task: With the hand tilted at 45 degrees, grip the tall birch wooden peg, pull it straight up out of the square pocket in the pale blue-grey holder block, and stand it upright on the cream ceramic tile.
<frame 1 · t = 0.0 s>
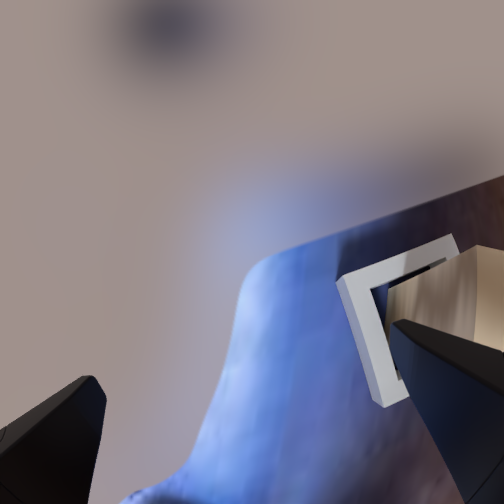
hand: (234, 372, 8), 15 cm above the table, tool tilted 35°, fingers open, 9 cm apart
holder: (409, 319, 21), on the table
peg: (447, 313, 15), in the holder
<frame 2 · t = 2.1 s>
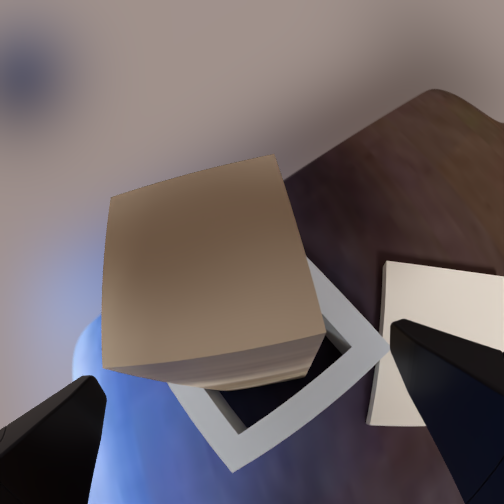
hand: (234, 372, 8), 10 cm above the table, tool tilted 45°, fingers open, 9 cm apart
tile: (448, 347, 15), on the table
holder: (259, 348, 17), on the table
peg: (241, 323, 12), in the holder
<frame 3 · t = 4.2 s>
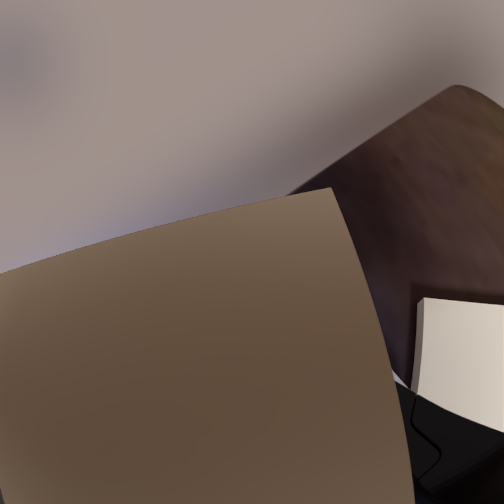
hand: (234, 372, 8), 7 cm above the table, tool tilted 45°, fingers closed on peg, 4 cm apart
tile: (484, 395, 11), on the table
peg: (245, 419, 7), in the holder, touching gripper
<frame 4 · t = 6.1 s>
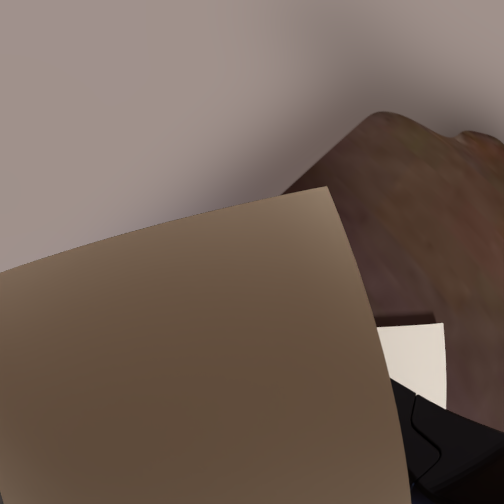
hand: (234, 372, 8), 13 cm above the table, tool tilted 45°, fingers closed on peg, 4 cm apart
tile: (380, 396, 18), on the table
peg: (243, 419, 7), point 13 cm above the table, touching gripper
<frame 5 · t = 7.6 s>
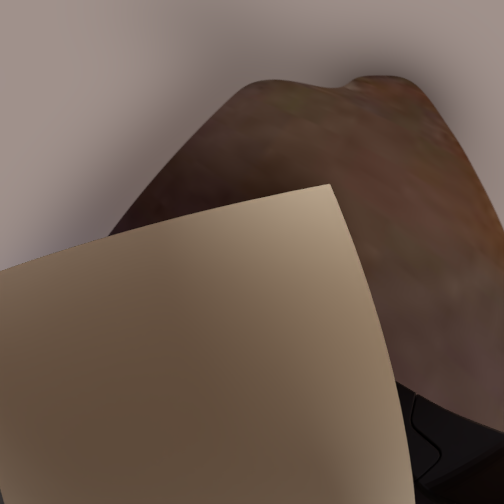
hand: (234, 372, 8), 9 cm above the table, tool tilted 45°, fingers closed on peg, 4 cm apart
peg: (244, 418, 7), point 9 cm above the table, touching gripper
when the fingers open (8 cm above the table, at t = 8.5 s): peg stays where it is, resting on tile.
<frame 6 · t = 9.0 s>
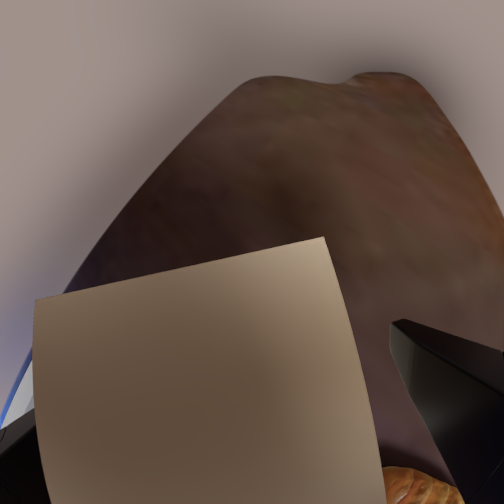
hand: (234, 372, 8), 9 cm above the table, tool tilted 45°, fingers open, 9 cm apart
holder: (89, 437, 14), on the table
peg: (249, 417, 8), on the tile, point 7 cm above the table
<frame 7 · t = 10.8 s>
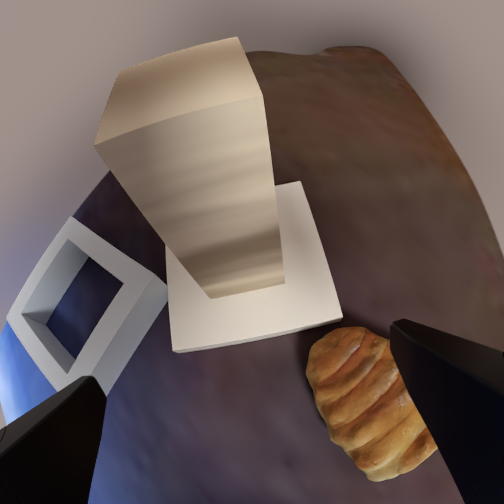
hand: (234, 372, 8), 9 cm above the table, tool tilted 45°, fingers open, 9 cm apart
pastry: (374, 407, 15), on the table
tile: (244, 264, 20), on the table
holder: (89, 313, 19), on the table
peg: (218, 197, 13), on the tile, point 7 cm above the table
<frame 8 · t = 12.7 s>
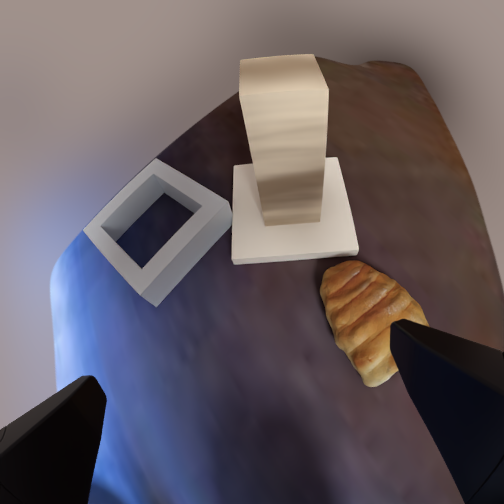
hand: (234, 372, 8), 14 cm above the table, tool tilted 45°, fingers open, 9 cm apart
pastry: (370, 329, 21), on the table
tile: (290, 208, 26), on the table
holder: (160, 233, 27), on the table
peg: (286, 148, 20), on the tile, point 7 cm above the table
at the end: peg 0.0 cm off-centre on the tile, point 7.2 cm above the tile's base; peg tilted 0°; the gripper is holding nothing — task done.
